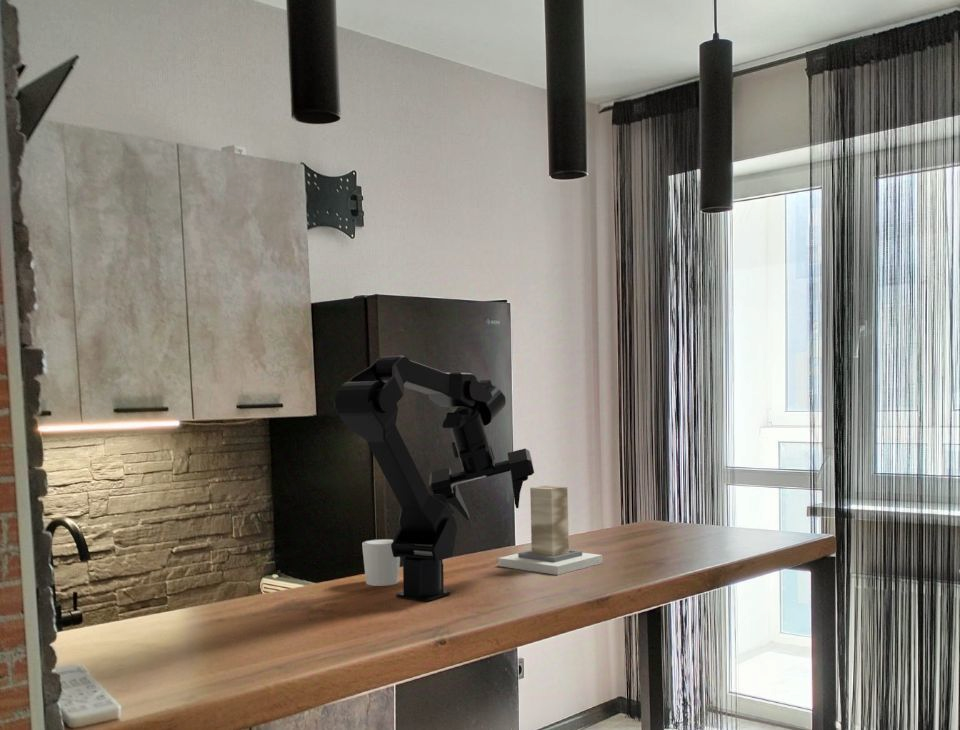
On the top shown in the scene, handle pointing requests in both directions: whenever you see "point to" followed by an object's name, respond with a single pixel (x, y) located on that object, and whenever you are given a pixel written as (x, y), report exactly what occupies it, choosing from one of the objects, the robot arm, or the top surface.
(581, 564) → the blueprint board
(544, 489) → the maple pillar
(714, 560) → the top surface
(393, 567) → the white cup
